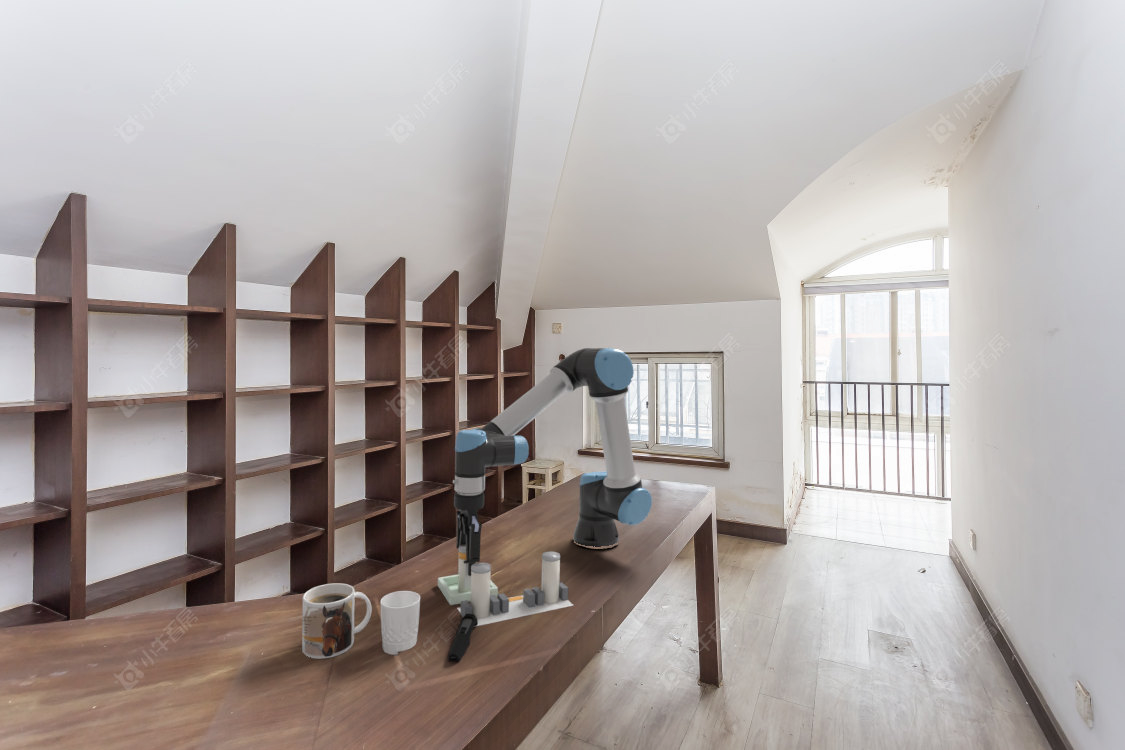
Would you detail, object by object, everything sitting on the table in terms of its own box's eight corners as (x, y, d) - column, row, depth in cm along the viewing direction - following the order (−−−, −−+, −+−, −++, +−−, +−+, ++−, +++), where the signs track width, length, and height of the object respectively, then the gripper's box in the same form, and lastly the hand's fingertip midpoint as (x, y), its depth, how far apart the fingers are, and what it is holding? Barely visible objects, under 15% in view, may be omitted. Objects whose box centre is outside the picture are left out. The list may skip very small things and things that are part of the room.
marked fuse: (472, 585, 139) (473, 543, 139) (478, 592, 135) (479, 548, 135) (455, 588, 137) (456, 545, 137) (460, 596, 133) (461, 551, 133)
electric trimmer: (442, 668, 104) (442, 652, 104) (462, 622, 120) (462, 609, 119) (461, 669, 104) (462, 654, 104) (479, 623, 119) (479, 610, 119)
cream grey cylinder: (553, 594, 136) (555, 550, 135) (562, 601, 132) (563, 556, 131) (537, 597, 134) (539, 553, 133) (545, 605, 130) (546, 559, 129)
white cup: (389, 661, 106) (390, 611, 105) (373, 644, 111) (374, 597, 111) (426, 648, 111) (427, 600, 110) (409, 632, 117) (409, 587, 116)
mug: (318, 630, 116) (318, 580, 116) (373, 633, 116) (373, 582, 116) (292, 658, 106) (293, 602, 105) (352, 660, 105) (353, 605, 105)
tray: (482, 580, 144) (482, 570, 144) (497, 599, 134) (498, 588, 134) (437, 588, 139) (437, 577, 139) (450, 608, 128) (450, 596, 128)
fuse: (486, 607, 127) (487, 561, 127) (492, 616, 123) (493, 568, 123) (467, 611, 125) (468, 564, 125) (473, 620, 121) (474, 571, 121)
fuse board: (555, 591, 139) (555, 577, 139) (574, 608, 130) (574, 593, 130) (456, 611, 127) (456, 595, 127) (469, 631, 118) (469, 614, 118)
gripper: (445, 485, 141) (443, 572, 142) (465, 501, 126) (462, 600, 127) (473, 482, 145) (470, 568, 146) (495, 499, 129) (492, 594, 130)
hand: (466, 582), depth 136 cm, fingers closed on marked fuse, 4 cm apart
